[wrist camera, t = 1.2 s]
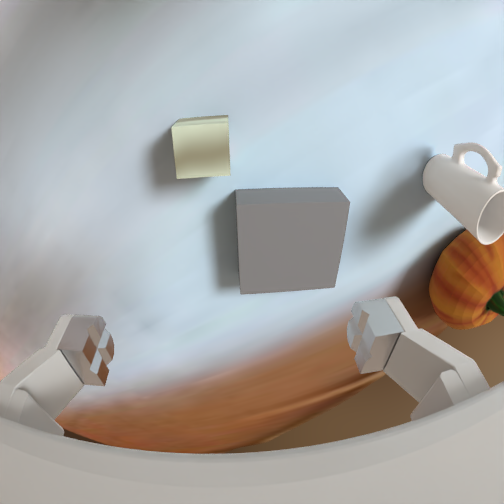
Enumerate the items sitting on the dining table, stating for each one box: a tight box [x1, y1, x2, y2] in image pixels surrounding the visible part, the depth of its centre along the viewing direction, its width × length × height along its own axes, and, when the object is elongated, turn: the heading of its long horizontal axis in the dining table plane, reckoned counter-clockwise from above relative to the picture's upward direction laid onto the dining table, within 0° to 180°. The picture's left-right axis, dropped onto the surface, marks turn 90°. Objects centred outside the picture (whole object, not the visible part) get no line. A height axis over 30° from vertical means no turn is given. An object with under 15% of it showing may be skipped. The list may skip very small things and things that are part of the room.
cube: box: [171, 115, 230, 179], centre depth 27 cm, size 5×5×5 cm
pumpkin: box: [429, 229, 504, 330], centre depth 37 cm, size 19×19×15 cm
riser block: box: [235, 187, 350, 294], centre depth 35 cm, size 12×12×4 cm
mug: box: [423, 143, 504, 245], centre depth 27 cm, size 10×7×12 cm, turn 6°
